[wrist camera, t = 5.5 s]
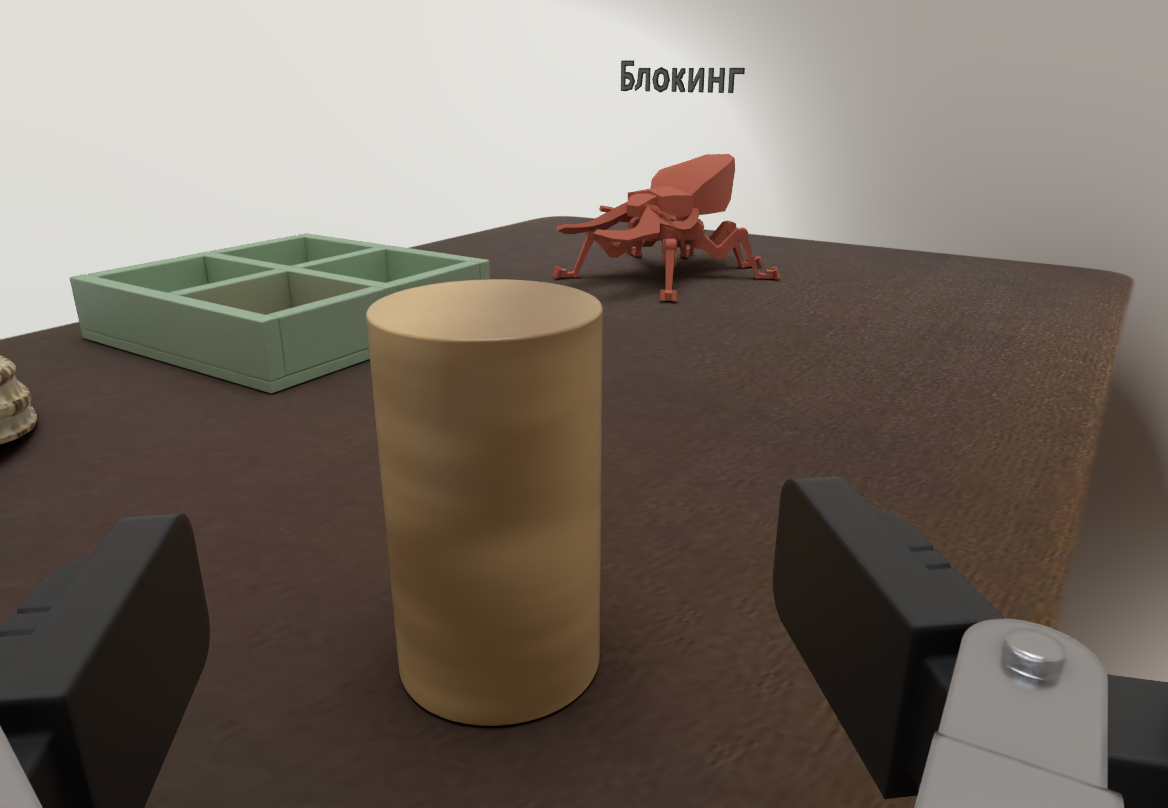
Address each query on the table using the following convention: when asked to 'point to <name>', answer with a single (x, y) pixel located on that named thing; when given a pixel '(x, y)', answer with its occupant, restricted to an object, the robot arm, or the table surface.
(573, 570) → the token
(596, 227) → the beetle
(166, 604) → the robot arm
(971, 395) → the table surface
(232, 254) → the grid
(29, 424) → the seashell
